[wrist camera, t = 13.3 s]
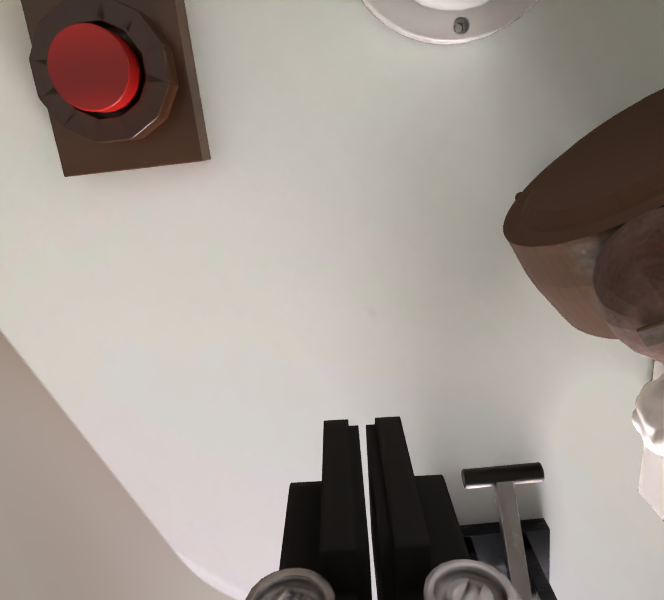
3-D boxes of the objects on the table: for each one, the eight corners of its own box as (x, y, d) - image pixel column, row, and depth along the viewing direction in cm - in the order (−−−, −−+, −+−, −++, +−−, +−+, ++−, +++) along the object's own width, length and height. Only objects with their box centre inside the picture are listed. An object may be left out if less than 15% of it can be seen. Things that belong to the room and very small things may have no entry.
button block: (37, -10, 30) (-6, -31, 26) (179, -28, 30) (156, -51, 26) (81, 174, 33) (48, 179, 29) (211, 159, 33) (194, 162, 29)
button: (54, 34, 28) (36, 27, 26) (132, 24, 27) (119, 17, 26) (74, 117, 29) (58, 115, 27) (148, 108, 29) (137, 106, 27)
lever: (458, 467, 36) (465, 471, 34) (533, 460, 36) (545, 463, 34) (489, 686, 34) (498, 706, 31) (570, 680, 33) (586, 700, 31)
